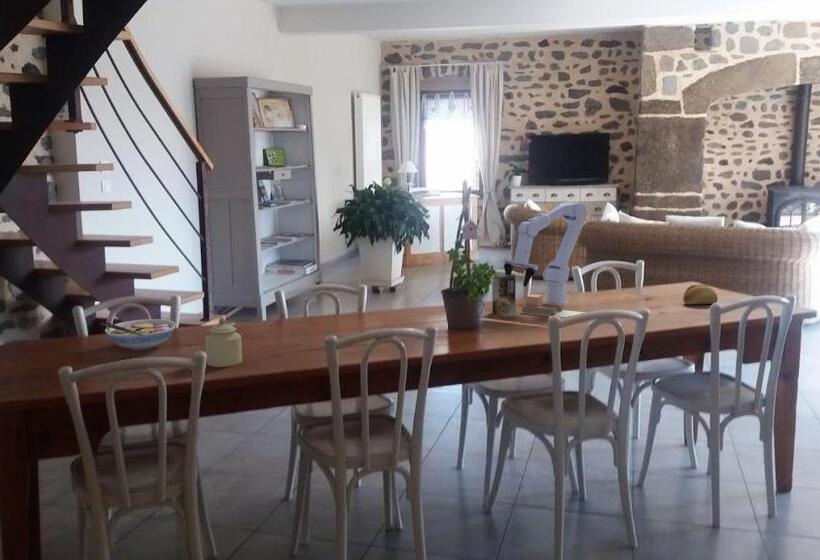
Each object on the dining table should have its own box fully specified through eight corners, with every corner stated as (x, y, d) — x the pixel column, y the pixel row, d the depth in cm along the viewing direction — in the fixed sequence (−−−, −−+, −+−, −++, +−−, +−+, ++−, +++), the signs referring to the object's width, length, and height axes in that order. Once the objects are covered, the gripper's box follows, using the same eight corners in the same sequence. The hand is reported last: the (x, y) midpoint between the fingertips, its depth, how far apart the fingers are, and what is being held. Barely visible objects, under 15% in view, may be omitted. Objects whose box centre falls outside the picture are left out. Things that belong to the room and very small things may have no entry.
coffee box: (515, 315, 298) (515, 275, 295) (515, 318, 291) (516, 277, 288) (491, 314, 299) (492, 274, 296) (491, 318, 292) (492, 277, 289)
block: (530, 308, 304) (530, 294, 303) (542, 310, 301) (542, 295, 300) (526, 310, 300) (526, 296, 299) (538, 312, 298) (538, 297, 297)
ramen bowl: (192, 347, 256) (190, 323, 255) (129, 361, 240) (127, 336, 238) (154, 335, 273) (152, 313, 271) (92, 348, 256) (90, 325, 255)
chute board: (532, 309, 308) (533, 300, 307) (590, 315, 295) (590, 306, 295) (521, 315, 297) (521, 306, 297) (580, 321, 285) (580, 312, 285)
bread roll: (676, 303, 317) (677, 284, 315) (708, 300, 320) (709, 282, 319) (690, 307, 308) (691, 288, 306) (722, 305, 311) (723, 286, 310)
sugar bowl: (204, 356, 245) (201, 311, 242) (239, 353, 248) (236, 308, 246) (207, 369, 231) (204, 321, 228) (244, 365, 234) (241, 318, 232)
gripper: (502, 247, 301) (495, 280, 302) (536, 253, 294) (529, 287, 295) (509, 248, 308) (502, 281, 308) (542, 255, 300) (535, 288, 301)
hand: (516, 284), depth 302 cm, fingers open, 7 cm apart
